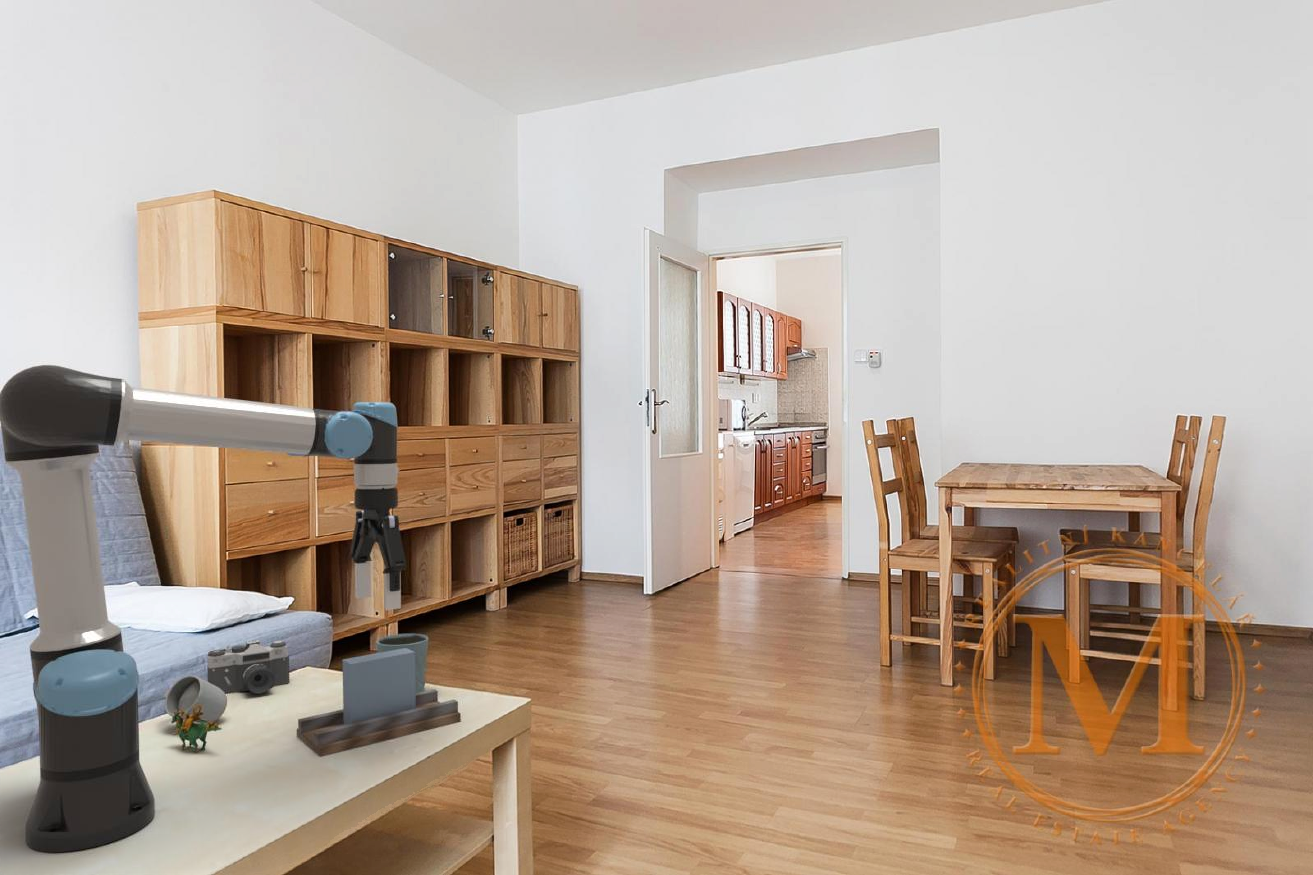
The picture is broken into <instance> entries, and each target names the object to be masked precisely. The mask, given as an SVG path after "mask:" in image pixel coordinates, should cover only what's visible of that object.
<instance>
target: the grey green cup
mask: <svg viewBox="0 0 1313 875" xmlns="http://www.w3.org/2000/svg"><path fill="white" fill-rule="evenodd" d="M375 644H376V651H377V652H376V653H381V652H386V651H392V650H397V649H403V648H407V649H409V650H411V651H414V652H415V690H416V693H419V692H424V691H426V690H425V686H426V670H427V657H428V647H429V637H428V635H425V634H421V633H397V634H391V635H386V636H383V637H380V638H378V639H376V643H375Z"/></svg>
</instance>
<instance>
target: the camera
mask: <svg viewBox="0 0 1313 875" xmlns="http://www.w3.org/2000/svg"><path fill="white" fill-rule="evenodd" d="M206 656H207V658H206V660H207V666H206V667H207V671H206V672H207V682H209V683H211V684H213V685H215V686H217V687H218V688H220V689H221V690H222V691H223V692H224V693H225V694H226V695H230V694H235V693H243V692H251V693H253V694H256V695H261V694H264V693H266V692H268V691H269V690H270V689H271V688H273V687H278V686H285V685H289V684H290V655H289V652H288V645H287V643H286V641H283V640H275V641H273V642H271V643H270V645H269V644H268V645H261V644H260V641H259V640H258V639H256V640H255V641H250V642H249V641H246V642H245V645H236V646H232V647H230V645H226V648H223V649H222V648H221V649H213V650H209V651H208V652H207V655H206Z"/></svg>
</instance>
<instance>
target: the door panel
mask: <svg viewBox="0 0 1313 875" xmlns="http://www.w3.org/2000/svg"><path fill="white" fill-rule="evenodd" d="M342 696H343V697H342V705H343V706H342V708H343V717H344V725H347V724H351V723H355V722H360V721H364V720H368V719H373V718H377V717H381V716H385V715H390V714H394V713H398V712H403V711H407V710H411V709H415V708H416V690H415V652H414V651H411V650H409V649H407V648H403V649H397V650H392V651H386V652H381V653H377V652H376V653H371V654H366V655H359V656H355V657H349V658H344V659H342Z"/></svg>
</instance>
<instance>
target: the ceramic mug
mask: <svg viewBox="0 0 1313 875" xmlns="http://www.w3.org/2000/svg"><path fill="white" fill-rule="evenodd" d="M162 699H163V700H165V701H164V708H165V712H166V713H167V714H168V716H170V717H171V718H172V717H173V716H174V712H175V711H178V712H179V711H180V710H181V709H183V711H184V712H185V713H184V714H183V716H181V714H179V716H181V717H182V718H183V721H184V720H185V719H186V716H185V714H187V713H189V717H190V716H191V715H192V714H193V709H194V707H195V706H197V705H201V706H202V709H201V711H200V712H204V713H203V715H200V716H199V718H201V719H205V720H209V721H211V722H213V724H215V723H216V722H217V721H218V720H219V719H220V718H221V717H222V715H223V714H224V712H225V710H226V709H227V704H228V698H227V694H225V693H224V692H223V691H222V690H221V689H220V688H218V687H217V686H215V685H213V684H211V683H209V682H208V680H205V679H203V678H201V677H200V676H198V675H195V674H192V675H191V674H190V675H186V676H184V677H181V678H179V680H177V681H176V682H174V684H173V685H172V686H171V688H170V689H167V690H166V691H165V692H164V694H163V696H162ZM195 712H199V707H198V708H197V709H196V710H195ZM176 713H177V712H176ZM176 713H175V714H176ZM196 715H197V714H196ZM209 721H207V722H204V723H206V724H208V722H209ZM202 722H203V721H202Z"/></svg>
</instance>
